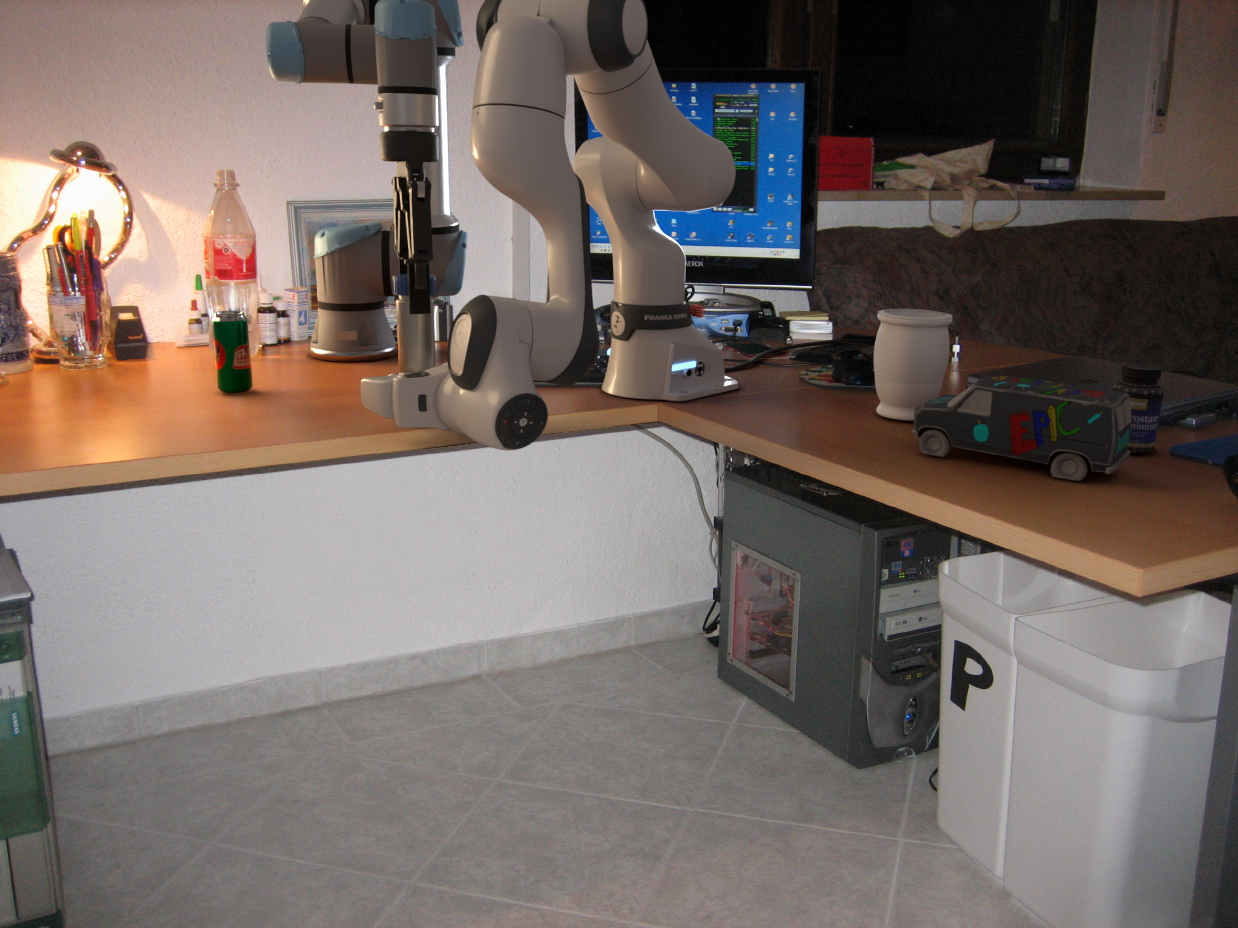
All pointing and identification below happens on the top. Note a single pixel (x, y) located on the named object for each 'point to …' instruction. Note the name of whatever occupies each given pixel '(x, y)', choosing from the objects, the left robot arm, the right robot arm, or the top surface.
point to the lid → (402, 284)
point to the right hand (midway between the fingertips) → (414, 377)
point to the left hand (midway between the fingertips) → (415, 310)
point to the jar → (909, 359)
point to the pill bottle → (1142, 403)
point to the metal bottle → (415, 338)
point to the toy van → (1031, 424)
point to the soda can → (232, 352)
